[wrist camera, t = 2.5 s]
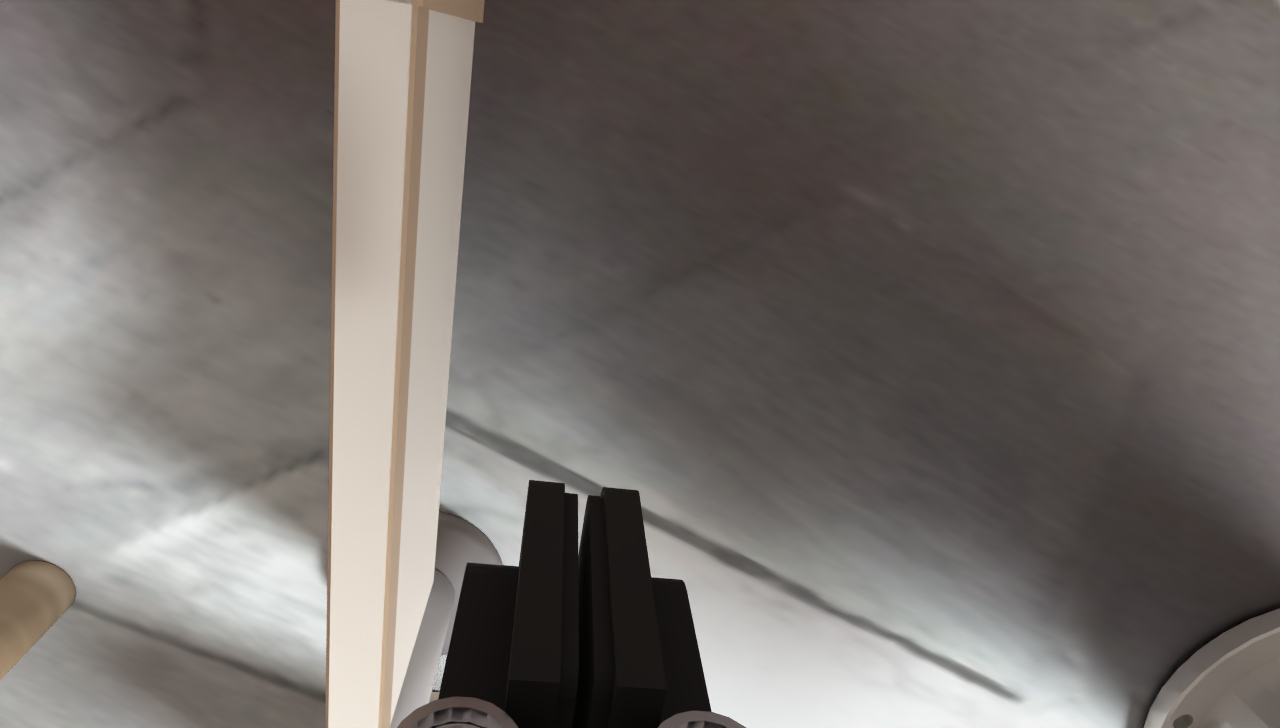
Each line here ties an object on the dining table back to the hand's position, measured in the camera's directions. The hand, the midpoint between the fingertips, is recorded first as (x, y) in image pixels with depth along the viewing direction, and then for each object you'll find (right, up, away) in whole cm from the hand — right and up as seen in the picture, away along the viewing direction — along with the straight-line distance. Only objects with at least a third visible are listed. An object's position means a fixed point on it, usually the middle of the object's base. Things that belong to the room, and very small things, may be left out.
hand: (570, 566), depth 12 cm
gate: (-6, +4, +13) cm, 15 cm away
